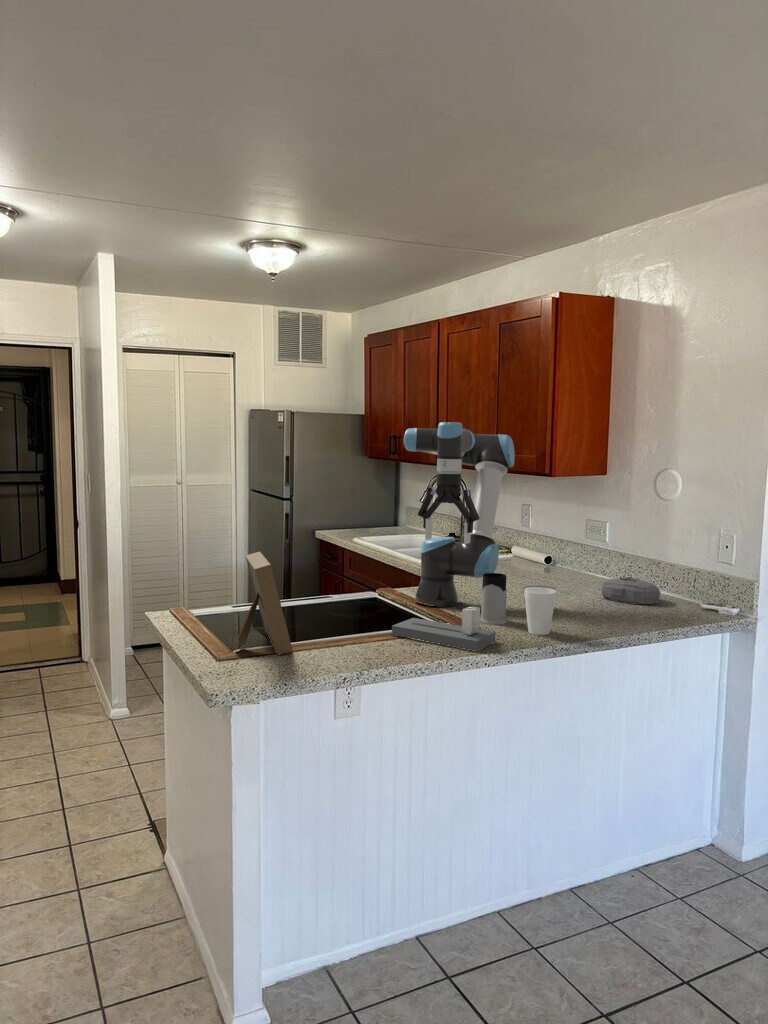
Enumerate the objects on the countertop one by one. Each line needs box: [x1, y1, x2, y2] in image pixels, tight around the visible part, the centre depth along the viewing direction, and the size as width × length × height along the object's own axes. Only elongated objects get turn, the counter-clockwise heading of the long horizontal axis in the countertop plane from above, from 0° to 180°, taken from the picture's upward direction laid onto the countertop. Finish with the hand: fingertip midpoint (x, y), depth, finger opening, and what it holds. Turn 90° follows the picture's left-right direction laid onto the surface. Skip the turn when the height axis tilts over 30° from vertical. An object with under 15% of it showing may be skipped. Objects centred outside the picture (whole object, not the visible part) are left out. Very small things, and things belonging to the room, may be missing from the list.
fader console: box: [391, 617, 497, 651], centre depth 226 cm, size 28×12×3 cm, turn 56°
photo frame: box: [235, 551, 294, 655], centre depth 215 cm, size 15×22×25 cm
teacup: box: [522, 583, 556, 607], centre depth 265 cm, size 14×11×8 cm
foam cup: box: [523, 587, 557, 636], centre depth 234 cm, size 10×9×13 cm
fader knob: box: [461, 605, 481, 635], centre depth 221 cm, size 3×5×7 cm, turn 146°
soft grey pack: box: [601, 576, 661, 605], centre depth 282 cm, size 15×8×20 cm
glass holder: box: [479, 572, 508, 625], centre depth 250 cm, size 9×14×15 cm, turn 160°
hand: (447, 541), depth 239 cm, fingers open, 13 cm apart
